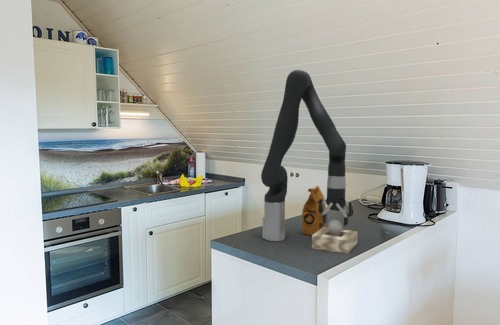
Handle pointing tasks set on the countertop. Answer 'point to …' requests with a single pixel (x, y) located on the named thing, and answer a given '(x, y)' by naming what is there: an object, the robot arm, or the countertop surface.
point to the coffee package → (312, 213)
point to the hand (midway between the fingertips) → (335, 224)
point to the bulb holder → (334, 241)
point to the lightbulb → (335, 227)
